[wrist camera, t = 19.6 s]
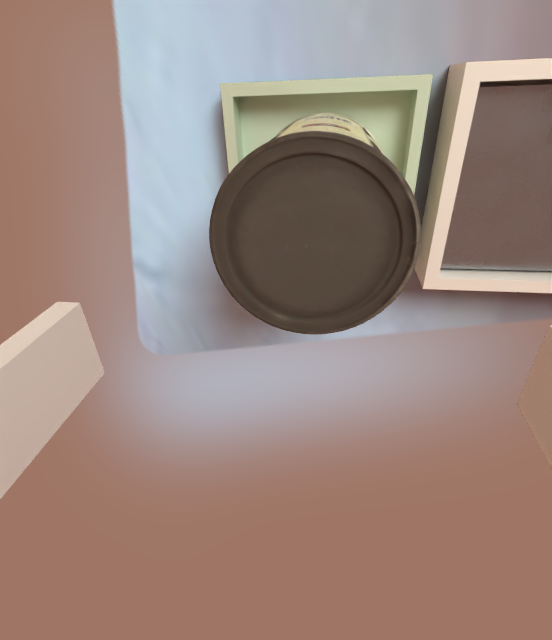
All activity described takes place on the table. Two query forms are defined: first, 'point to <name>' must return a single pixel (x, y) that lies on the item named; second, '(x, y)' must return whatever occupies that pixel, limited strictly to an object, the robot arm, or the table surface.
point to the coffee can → (315, 227)
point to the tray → (335, 97)
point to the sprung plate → (505, 184)
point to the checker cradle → (448, 170)
